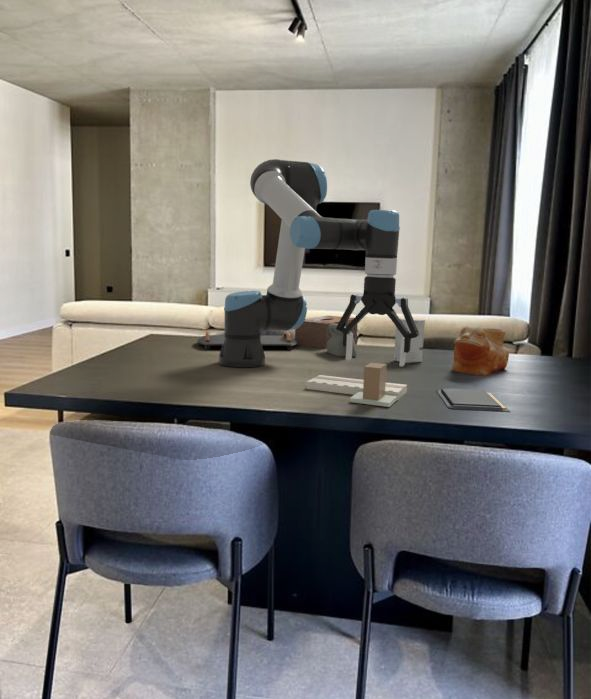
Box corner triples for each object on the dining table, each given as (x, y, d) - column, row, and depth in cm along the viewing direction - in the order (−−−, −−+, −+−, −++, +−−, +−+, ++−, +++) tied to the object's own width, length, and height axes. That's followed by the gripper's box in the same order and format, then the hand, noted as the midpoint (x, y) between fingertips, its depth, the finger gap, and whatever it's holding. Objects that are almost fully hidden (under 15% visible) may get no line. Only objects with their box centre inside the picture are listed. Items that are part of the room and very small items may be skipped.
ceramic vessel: (439, 372, 187) (443, 325, 185) (476, 362, 206) (479, 319, 204) (481, 379, 178) (485, 330, 176) (515, 368, 197) (519, 324, 195)
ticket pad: (306, 388, 158) (306, 381, 158) (319, 381, 167) (319, 374, 167) (397, 400, 149) (398, 392, 148) (406, 392, 158) (407, 384, 157)
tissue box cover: (326, 338, 256) (327, 315, 254) (356, 341, 248) (357, 318, 246) (294, 345, 234) (295, 320, 233) (326, 349, 227) (327, 323, 225)
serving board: (196, 351, 214) (196, 334, 213) (197, 341, 237) (197, 326, 236) (301, 352, 220) (301, 335, 219) (292, 342, 243) (292, 327, 242)
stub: (349, 401, 145) (351, 366, 143) (359, 395, 152) (360, 360, 151) (389, 407, 141) (391, 370, 139) (397, 399, 148) (399, 364, 147)
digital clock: (358, 357, 209) (359, 328, 207) (333, 357, 207) (334, 327, 205) (347, 350, 224) (348, 322, 223) (324, 350, 223) (325, 322, 221)
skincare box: (402, 363, 200) (405, 319, 198) (392, 360, 205) (395, 317, 203) (423, 362, 203) (425, 319, 201) (413, 359, 209) (415, 317, 206)
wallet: (435, 385, 161) (493, 388, 159) (435, 392, 161) (492, 395, 160) (446, 404, 141) (511, 407, 140) (446, 411, 141) (511, 415, 140)
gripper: (326, 273, 143) (322, 359, 147) (429, 279, 133) (422, 370, 137) (336, 272, 150) (332, 354, 153) (435, 278, 140) (428, 365, 144)
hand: (374, 362), depth 145 cm, fingers open, 13 cm apart
